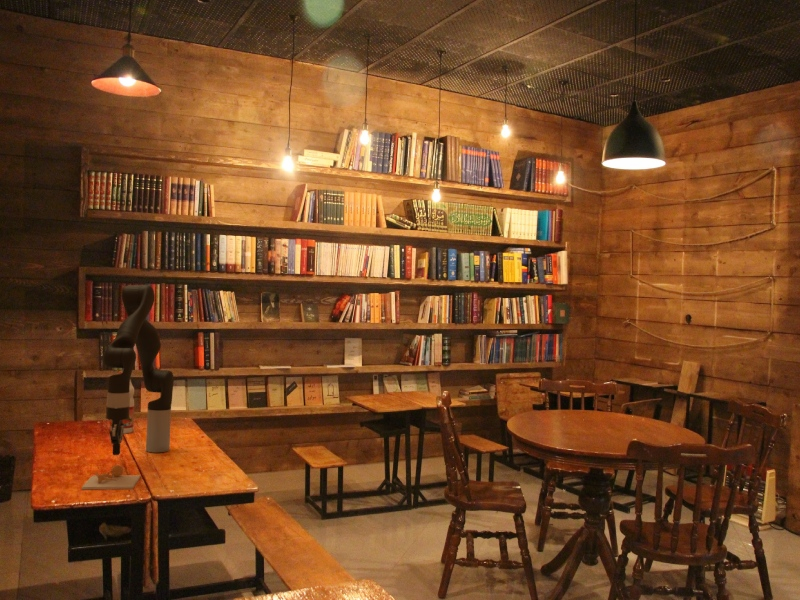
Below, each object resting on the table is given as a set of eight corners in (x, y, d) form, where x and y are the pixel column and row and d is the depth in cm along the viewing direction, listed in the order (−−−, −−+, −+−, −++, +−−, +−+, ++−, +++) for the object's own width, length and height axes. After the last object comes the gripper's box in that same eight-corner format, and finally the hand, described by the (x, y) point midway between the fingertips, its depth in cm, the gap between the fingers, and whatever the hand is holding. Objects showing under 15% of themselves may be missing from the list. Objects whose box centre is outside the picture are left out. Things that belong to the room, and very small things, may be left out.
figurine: (110, 468, 252) (87, 487, 241) (111, 454, 250) (87, 472, 239) (130, 476, 250) (108, 495, 240) (131, 462, 248) (109, 481, 237)
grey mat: (92, 477, 249) (92, 475, 249) (140, 477, 252) (140, 475, 252) (81, 489, 234) (81, 487, 234) (132, 488, 237) (132, 486, 237)
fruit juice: (136, 430, 335) (138, 371, 335) (128, 434, 325) (130, 373, 325) (116, 429, 335) (119, 370, 335) (107, 433, 326) (110, 372, 326)
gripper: (110, 402, 254) (108, 450, 254) (102, 408, 241) (100, 459, 241) (132, 402, 255) (130, 450, 256) (126, 408, 242) (124, 459, 243)
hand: (116, 454), depth 248 cm, fingers closed
